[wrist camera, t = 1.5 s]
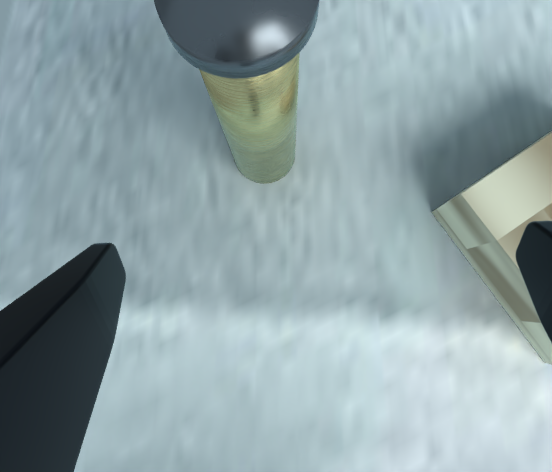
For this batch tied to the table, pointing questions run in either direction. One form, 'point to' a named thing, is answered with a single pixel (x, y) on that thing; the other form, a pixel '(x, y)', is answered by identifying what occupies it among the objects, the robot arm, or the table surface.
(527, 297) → the socket block
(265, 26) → the brass pin
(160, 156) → the table surface
